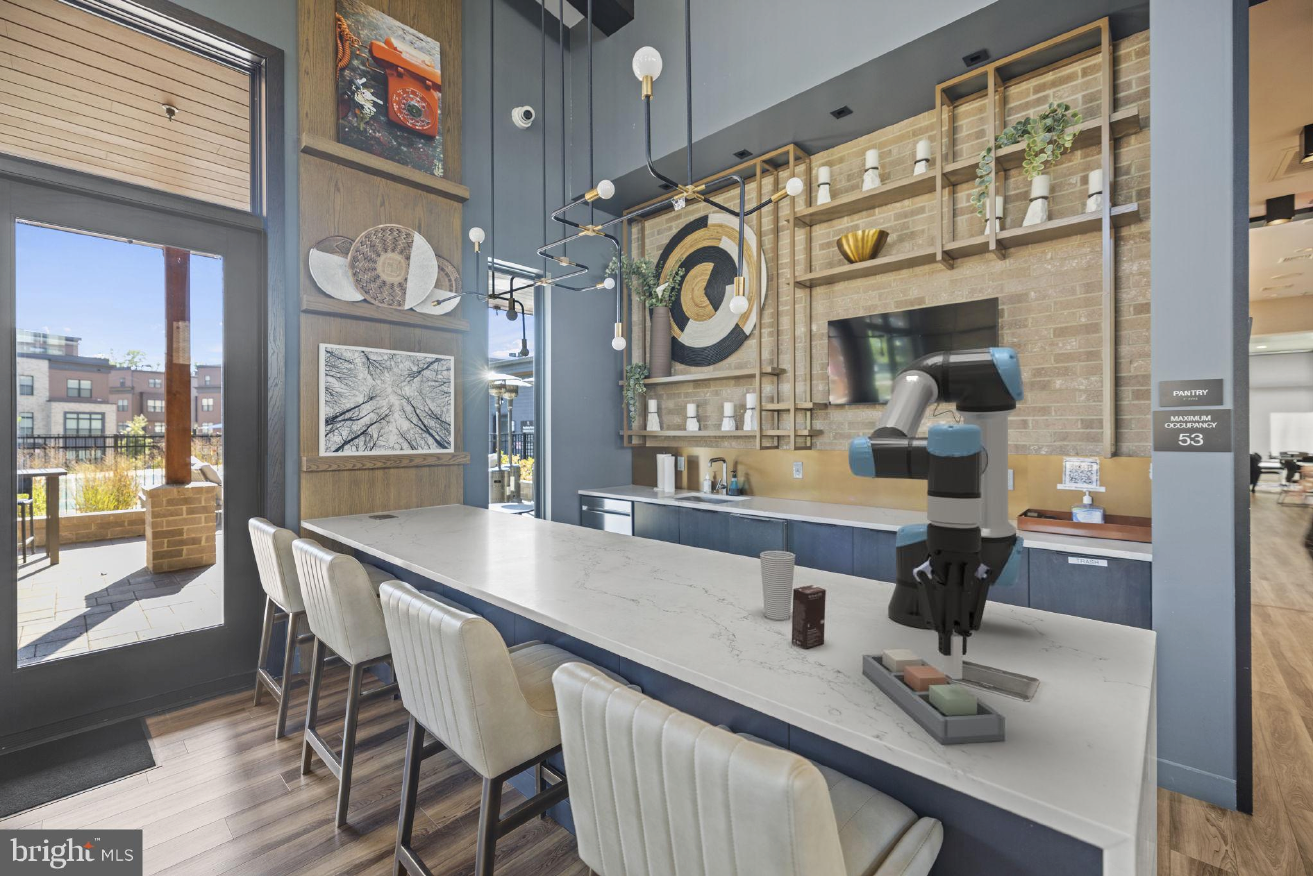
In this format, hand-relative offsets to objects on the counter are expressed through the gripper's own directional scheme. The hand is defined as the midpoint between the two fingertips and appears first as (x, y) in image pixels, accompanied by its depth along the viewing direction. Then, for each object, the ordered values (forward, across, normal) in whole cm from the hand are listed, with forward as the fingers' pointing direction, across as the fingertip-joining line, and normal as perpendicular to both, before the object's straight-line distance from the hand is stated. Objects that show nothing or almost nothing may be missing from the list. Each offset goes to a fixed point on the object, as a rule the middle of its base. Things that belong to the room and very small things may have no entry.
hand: (952, 675), depth 90 cm
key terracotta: (+5, 0, -8) cm, 9 cm away
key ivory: (+5, 0, -15) cm, 16 cm away
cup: (+8, +10, -54) cm, 56 cm away
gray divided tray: (+8, 0, -8) cm, 11 cm away
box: (+8, +10, -36) cm, 38 cm away
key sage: (+5, 0, 0) cm, 5 cm away
